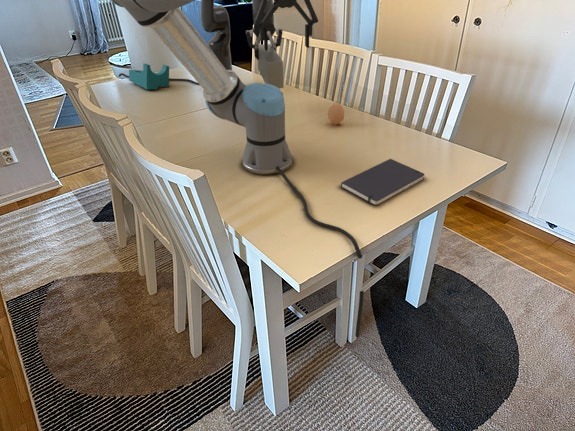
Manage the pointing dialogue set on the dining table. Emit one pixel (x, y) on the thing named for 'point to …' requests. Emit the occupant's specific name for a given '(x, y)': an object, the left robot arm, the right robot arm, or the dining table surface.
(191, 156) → the dining table surface
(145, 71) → the teal notched block
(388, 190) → the notebook
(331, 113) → the egg
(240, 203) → the dining table surface
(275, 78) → the bar
